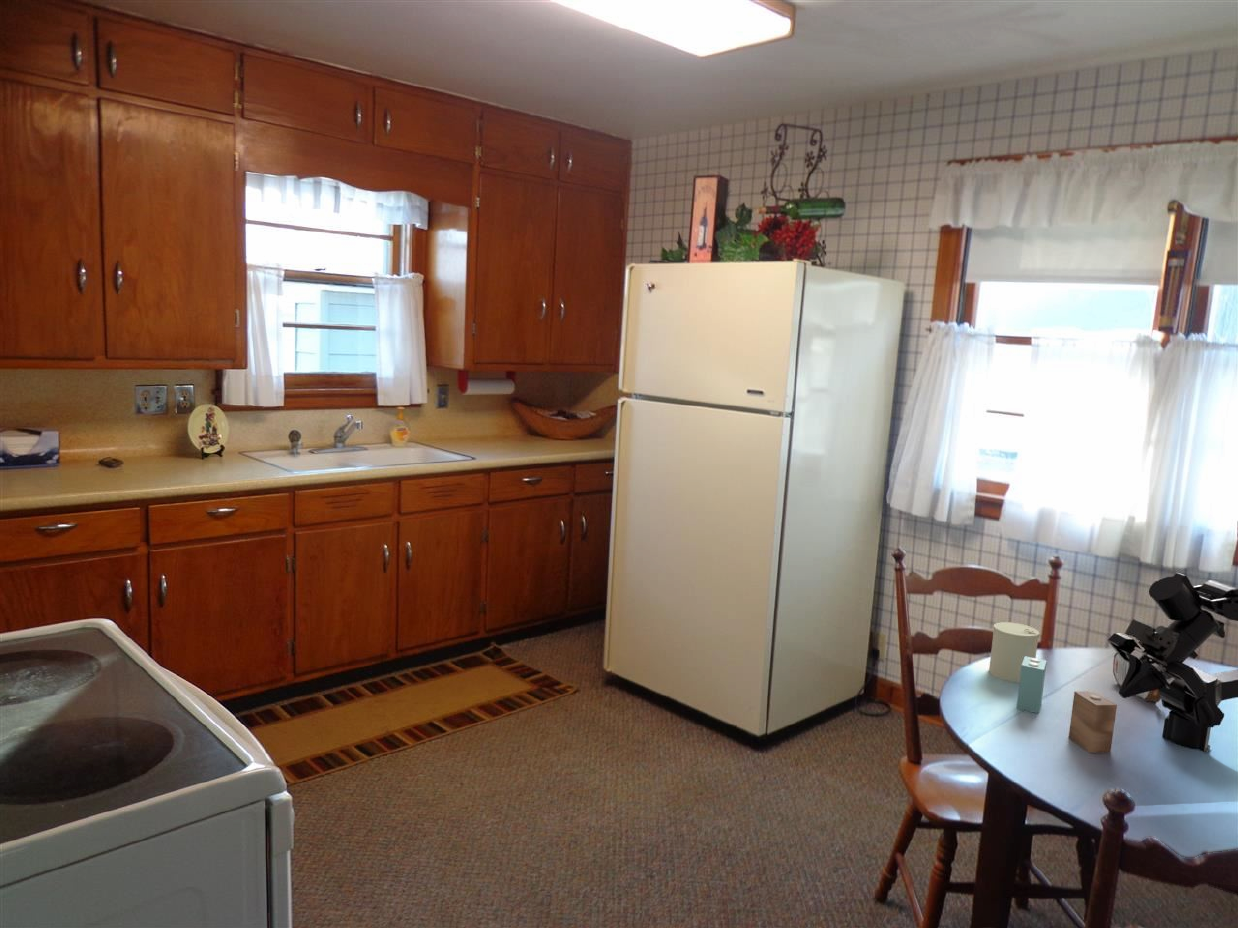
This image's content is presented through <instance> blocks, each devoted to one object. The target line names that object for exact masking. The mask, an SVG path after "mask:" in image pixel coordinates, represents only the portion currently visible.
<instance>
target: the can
mask: <svg viewBox="0 0 1238 928" xmlns="http://www.w3.org/2000/svg"><path fill="white" fill-rule="evenodd" d="M1039 636H1040V632H1039V630H1037V629H1036V628H1034V627H1032V626H1030V625H1026V624H1023V623H1017V622H1013V621H1012V622H1011V621H1009V622H1007V621H1001V622H996V623H994V625H993V632H992V643H991V652H990V660H989V667H988V668H989V669H988V672H989V674H990V675H991V676H994V677H995V678H998V679H1000V680H1003V681H1007V682H1010V683H1011V682H1012V683H1020V675H1021V666H1022V663H1023V660H1024V658H1025V656H1027V657H1031V658H1036V659H1037V657H1036V656H1037V650H1038V649H1037V648H1038V641H1039Z"/></svg>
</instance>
